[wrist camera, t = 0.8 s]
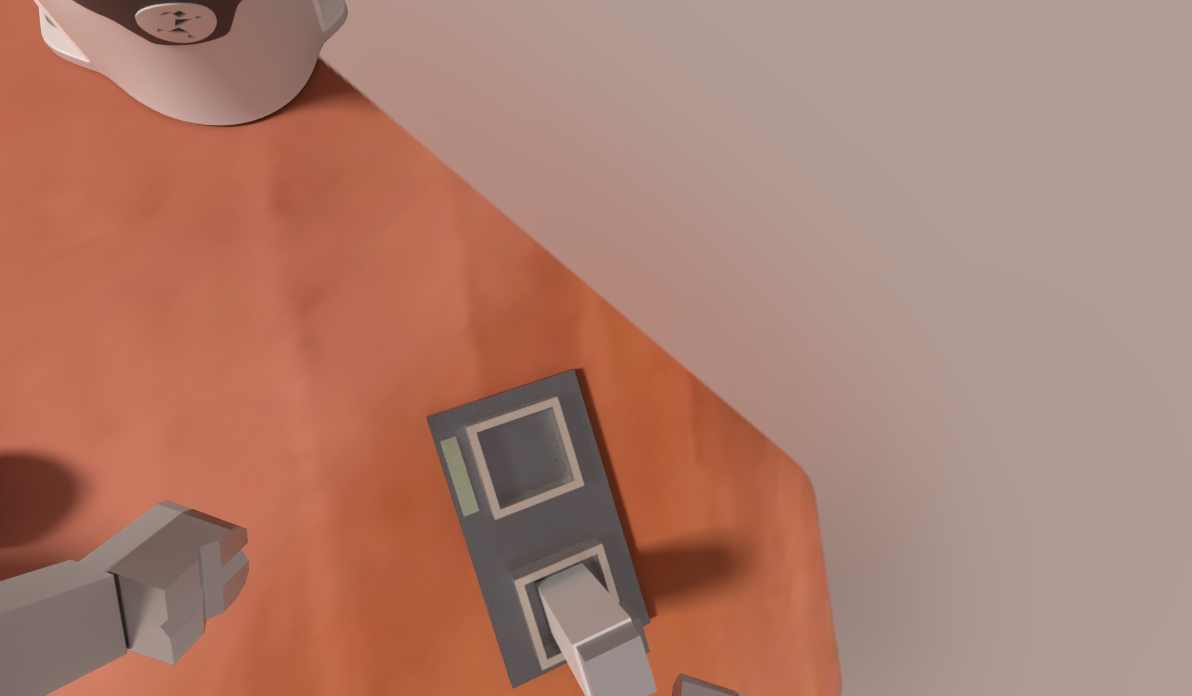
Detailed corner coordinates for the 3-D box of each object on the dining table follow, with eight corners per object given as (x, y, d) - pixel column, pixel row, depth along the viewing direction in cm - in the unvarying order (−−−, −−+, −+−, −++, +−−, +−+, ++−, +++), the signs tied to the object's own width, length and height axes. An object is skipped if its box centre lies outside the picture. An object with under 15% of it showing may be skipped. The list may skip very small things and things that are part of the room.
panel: (426, 416, 46) (427, 420, 43) (571, 369, 50) (581, 369, 47) (510, 682, 47) (517, 702, 45) (645, 617, 51) (660, 632, 48)
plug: (535, 583, 47) (580, 660, 35) (591, 558, 49) (654, 624, 36) (550, 630, 47) (600, 724, 35) (605, 604, 49) (672, 686, 36)
